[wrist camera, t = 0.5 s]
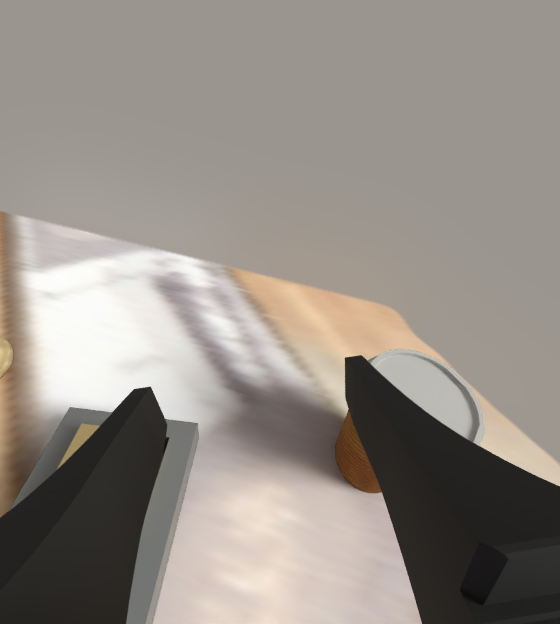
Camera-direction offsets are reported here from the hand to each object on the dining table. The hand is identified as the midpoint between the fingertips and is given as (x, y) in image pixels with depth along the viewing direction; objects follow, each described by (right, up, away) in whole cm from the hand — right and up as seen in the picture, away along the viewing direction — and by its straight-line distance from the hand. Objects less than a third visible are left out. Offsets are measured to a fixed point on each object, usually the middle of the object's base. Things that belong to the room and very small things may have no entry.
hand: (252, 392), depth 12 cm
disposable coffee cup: (+10, -12, +19) cm, 24 cm away
